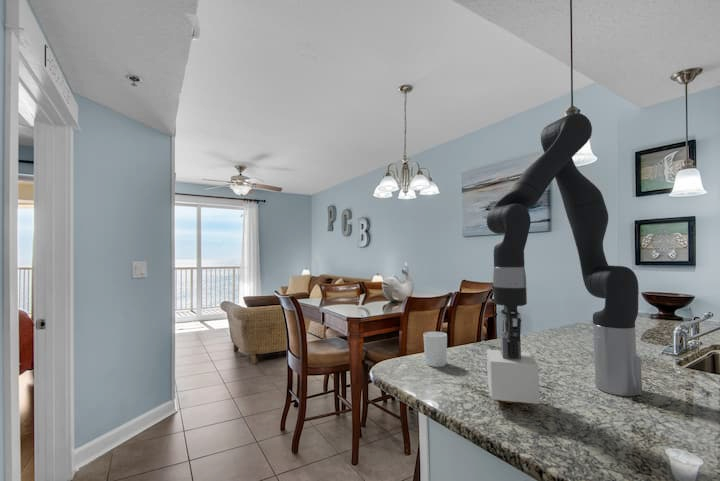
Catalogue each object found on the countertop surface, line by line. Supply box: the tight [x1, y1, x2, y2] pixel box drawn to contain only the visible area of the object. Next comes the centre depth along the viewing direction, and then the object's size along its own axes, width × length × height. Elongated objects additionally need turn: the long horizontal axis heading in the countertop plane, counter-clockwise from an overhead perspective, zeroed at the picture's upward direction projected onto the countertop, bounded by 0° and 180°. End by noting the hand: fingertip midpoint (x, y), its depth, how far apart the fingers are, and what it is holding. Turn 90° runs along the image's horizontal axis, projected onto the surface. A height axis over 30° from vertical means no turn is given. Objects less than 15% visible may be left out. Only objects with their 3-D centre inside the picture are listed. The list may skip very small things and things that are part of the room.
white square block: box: [486, 333, 541, 405], centre depth 84 cm, size 10×10×14 cm
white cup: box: [422, 331, 448, 368], centre depth 116 cm, size 8×8×10 cm
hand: (511, 354), depth 84 cm, fingers closed on white square block, 4 cm apart
